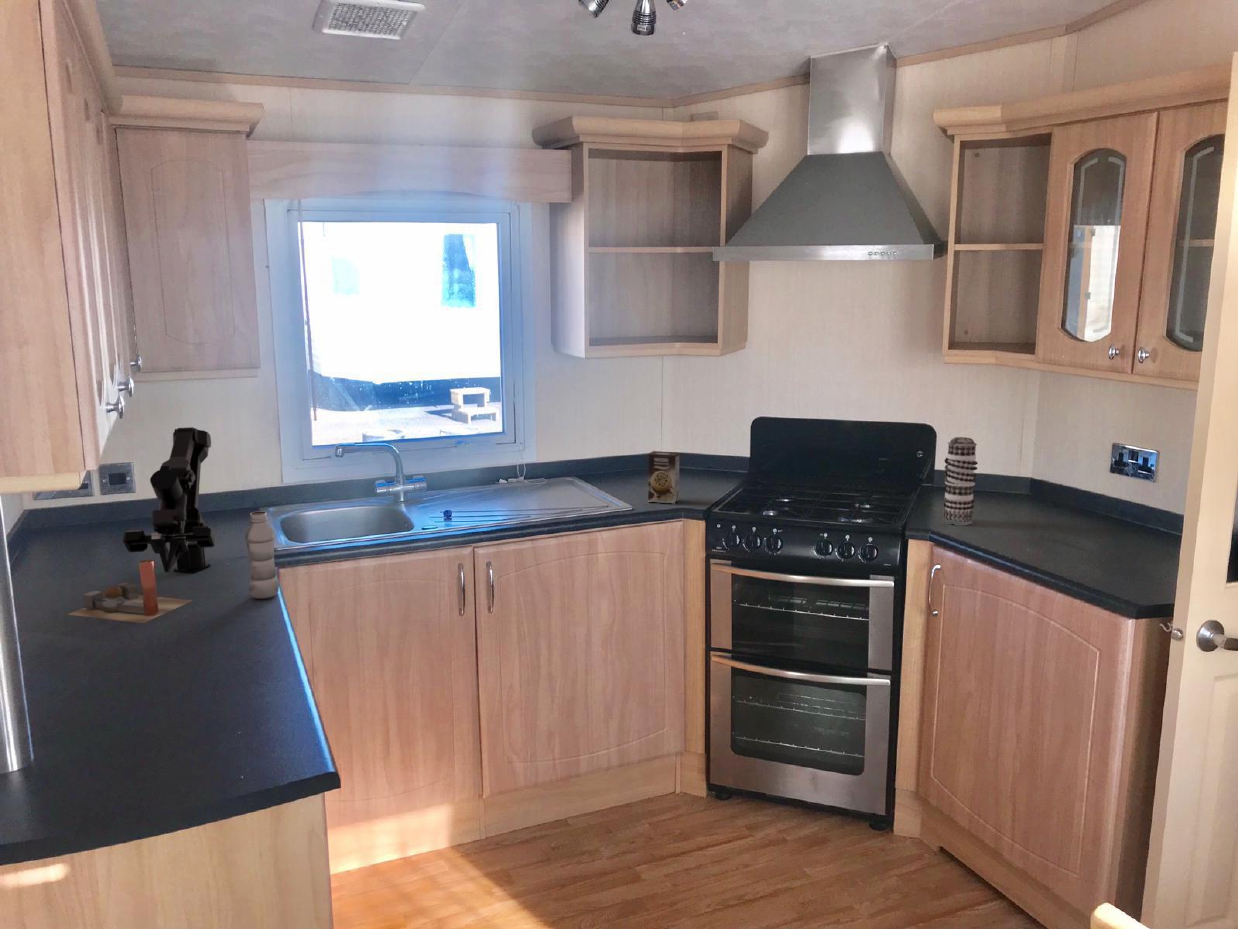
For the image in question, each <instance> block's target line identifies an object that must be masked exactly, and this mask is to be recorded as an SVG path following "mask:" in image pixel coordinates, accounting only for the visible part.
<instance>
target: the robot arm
mask: <svg viewBox="0 0 1238 929" xmlns="http://www.w3.org/2000/svg"><path fill="white" fill-rule="evenodd" d="M210 448H212V438H211V434H210V433H209V432H208V431H205V430H202V429H198V428H197V427H196V428H195V427H193V426H192V427H178V428H174V431H173V432H172V448H171V452H170V456H169V459H167V460H166V461H164V462H162V463H161V465H160V468H159V470H157V471H155V472H153V473H152V475H151V477H150V478H149V481H150V484H151V487H152V489H153V491H154V494H155V497H156V499H158V501H159V506H158V507H159V508H158V509H154V510H151V525H153V531H154V532H155V533H154V532H153V533H150V535H146V534H145V531H144V529H136V530H135V529H133V530H126V531H125V532H124V533H123V535H122V542H123V544H124V546H125V549H126V550H127V552H130V553H142V552H144V551H147V549H148V547H149V546H148V545H150V546H151V548H152V551H153V553H154V554H158V555H159V557H160V559H161V563H162V566H163V570H164V573H170V571H171V570H172V571H174V572H182V573H193V574H194V573H197V572H199V571H201V570H202V571H203V570H204V569H206V568H209V567H211V566H212V565H211V563H206V552H205V549H207V548H213V547H215V542H216V537H215V534H214V531H213V529H212V527H211V525H206V523H205V521H204V520H203V517H202V515H201V512H200V511H199V498H200V497H199V496H200V495H199V494H200V483H201V466H202V465H201V464H202V463H203V462H204V461H205V460H206V459H207V457H208V456H209V449H210ZM167 544H169V549H168V547H167ZM175 564H176V567H174V565H175ZM173 567H174V568H173ZM172 568H173V569H172Z"/></svg>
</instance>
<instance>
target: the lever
mask: <svg viewBox="0 0 1238 929" xmlns="http://www.w3.org/2000/svg"><path fill="white" fill-rule="evenodd" d="M138 564H139V565H138V567H139V575H140V576H139V577H140V584H141V593H142V594H141V595H142V596H143V603H141V602H132V601H125V600H124V597H110V598H104V596H103V591H99V590H92V591H91V590H90V591H88V592H86V593H84V594H82V602H83V608H89V609H94V608H97V609H103V611H105V612H114V611H122V612H131V613H140V614H145V615H152V614H156V613H158V612H159V610H158V600H157V597H158V593H157V591H158V590H157V583H156V582H157V581H156V573H155V564H154V560H153V559H146V560H145V559H144V560H141V561H139V562H138Z"/></svg>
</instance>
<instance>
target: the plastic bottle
mask: <svg viewBox="0 0 1238 929" xmlns="http://www.w3.org/2000/svg"><path fill="white" fill-rule="evenodd" d="M267 521H268V514H267V511H263V510H262V511H261V510H260V511H259V510H258V511H253V512H250V513H249V522H250V523H251V524H250V525H249V527H248V529H247V530H246V533H245V536H244V537H245V543H246V546H247V550H248V558H249V564H250V565H249V566H250V569H249V570H250V576H249V586H248V589H249V591H250V592H249V593H250V595H251V596H252V597H253V598H255V599H260V600H262V599H263V600H264V599H270V598H272V597H273V598H274V597H275V596H277V594H278V593H279V588H280V586H279V585H280V583H279V580H278V576H277V571H276V566H275V551H274V550H275V538H276V537H275V535H276V534H275V531H274V529H273V528H272V527H271V525H270V524H268V523H267Z"/></svg>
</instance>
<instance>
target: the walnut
mask: <svg viewBox="0 0 1238 929" xmlns="http://www.w3.org/2000/svg"><path fill="white" fill-rule="evenodd" d="M122 595H123V592H122V590H121V588H119V587H117V585H112V586H109V587H107V588H106V590H105V592H104V597H105V598H104V599H106V598H110V597H122Z"/></svg>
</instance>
